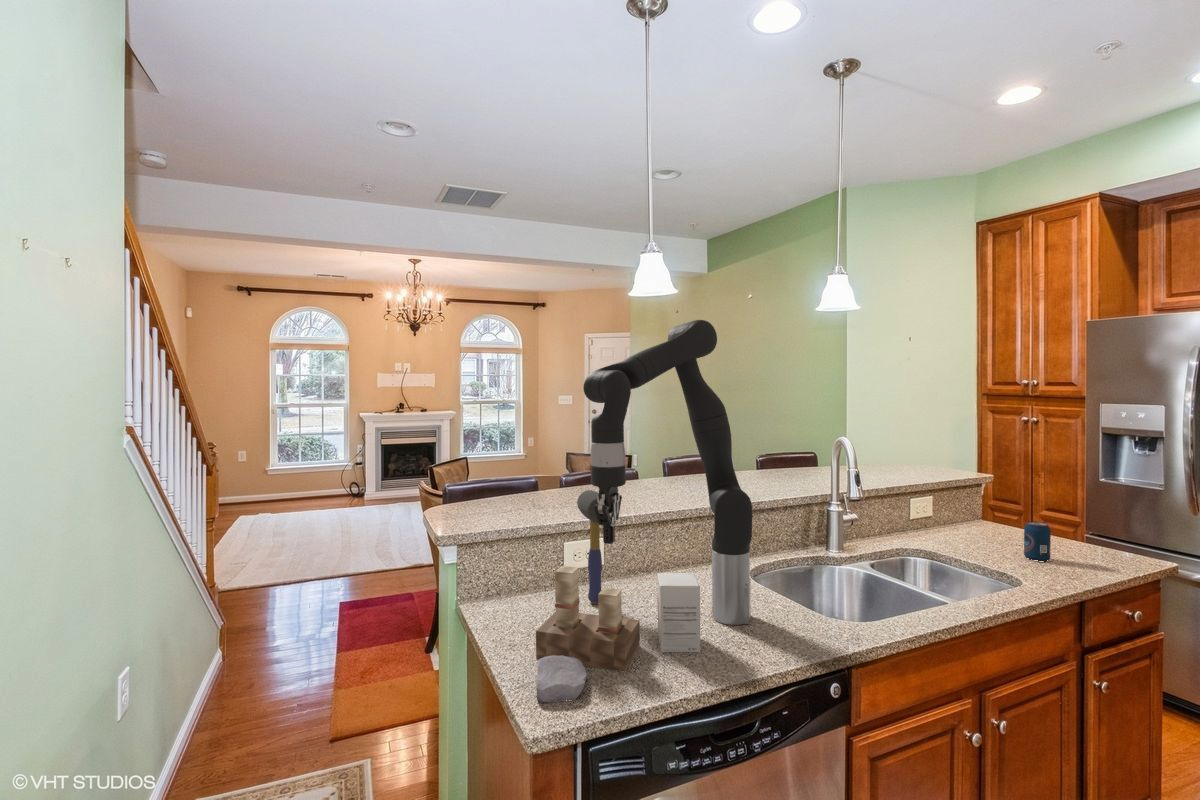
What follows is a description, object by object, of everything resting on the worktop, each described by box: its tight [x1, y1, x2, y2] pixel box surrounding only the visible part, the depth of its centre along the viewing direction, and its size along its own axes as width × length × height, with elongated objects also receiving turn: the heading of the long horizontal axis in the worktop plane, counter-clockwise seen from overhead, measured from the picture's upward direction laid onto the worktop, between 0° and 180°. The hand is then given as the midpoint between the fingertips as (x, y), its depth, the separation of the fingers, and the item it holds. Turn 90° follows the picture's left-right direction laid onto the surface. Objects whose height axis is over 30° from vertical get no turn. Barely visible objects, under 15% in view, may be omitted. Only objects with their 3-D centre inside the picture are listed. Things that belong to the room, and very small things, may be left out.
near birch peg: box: [597, 587, 623, 635], centre depth 126 cm, size 4×4×13 cm
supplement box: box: [656, 572, 701, 653], centre depth 131 cm, size 9×9×15 cm
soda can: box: [1023, 520, 1052, 562], centre depth 190 cm, size 7×7×12 cm
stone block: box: [536, 655, 588, 704], centre depth 114 cm, size 12×5×10 cm
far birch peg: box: [554, 565, 580, 629], centre depth 129 cm, size 4×4×13 cm
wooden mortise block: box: [535, 611, 641, 673], centre depth 128 cm, size 20×12×6 cm, turn 72°
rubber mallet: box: [576, 489, 603, 605], centre depth 156 cm, size 12×8×30 cm, turn 16°
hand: (609, 542), depth 125 cm, fingers closed
